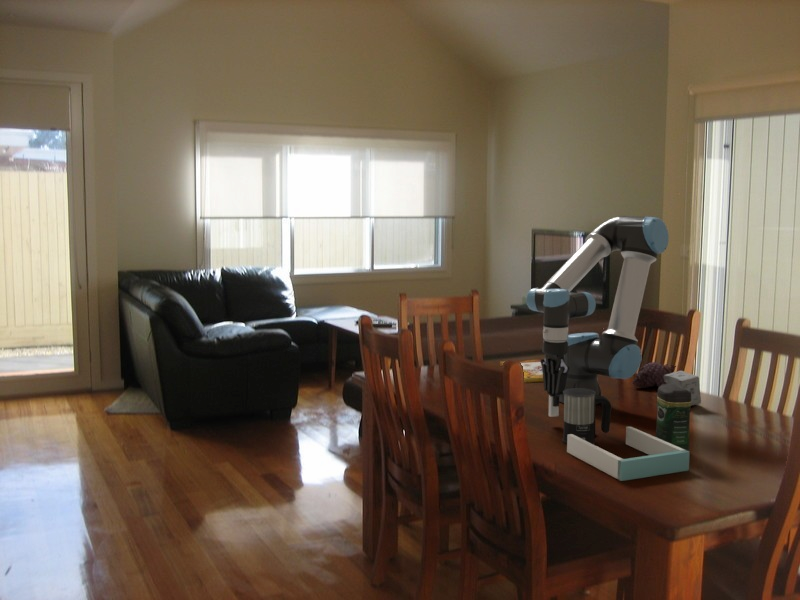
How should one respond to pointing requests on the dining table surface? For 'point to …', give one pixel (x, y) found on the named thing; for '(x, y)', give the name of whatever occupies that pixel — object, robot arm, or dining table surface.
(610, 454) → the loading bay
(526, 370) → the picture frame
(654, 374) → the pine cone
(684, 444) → the coffee jar
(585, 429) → the milk frother
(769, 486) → the dining table surface
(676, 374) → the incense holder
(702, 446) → the dining table surface
